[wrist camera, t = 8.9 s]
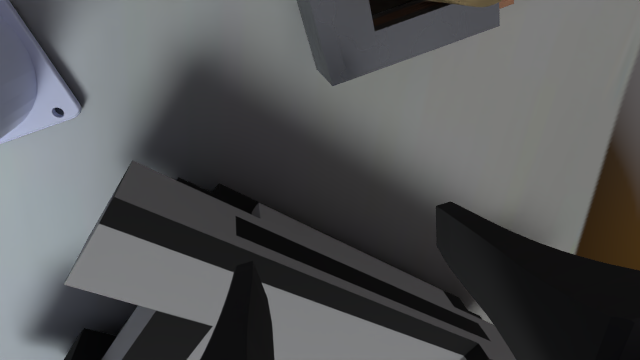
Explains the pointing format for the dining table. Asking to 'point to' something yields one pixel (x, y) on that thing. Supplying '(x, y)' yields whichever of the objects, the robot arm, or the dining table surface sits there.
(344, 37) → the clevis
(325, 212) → the dining table surface
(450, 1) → the brass peg
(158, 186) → the game console
